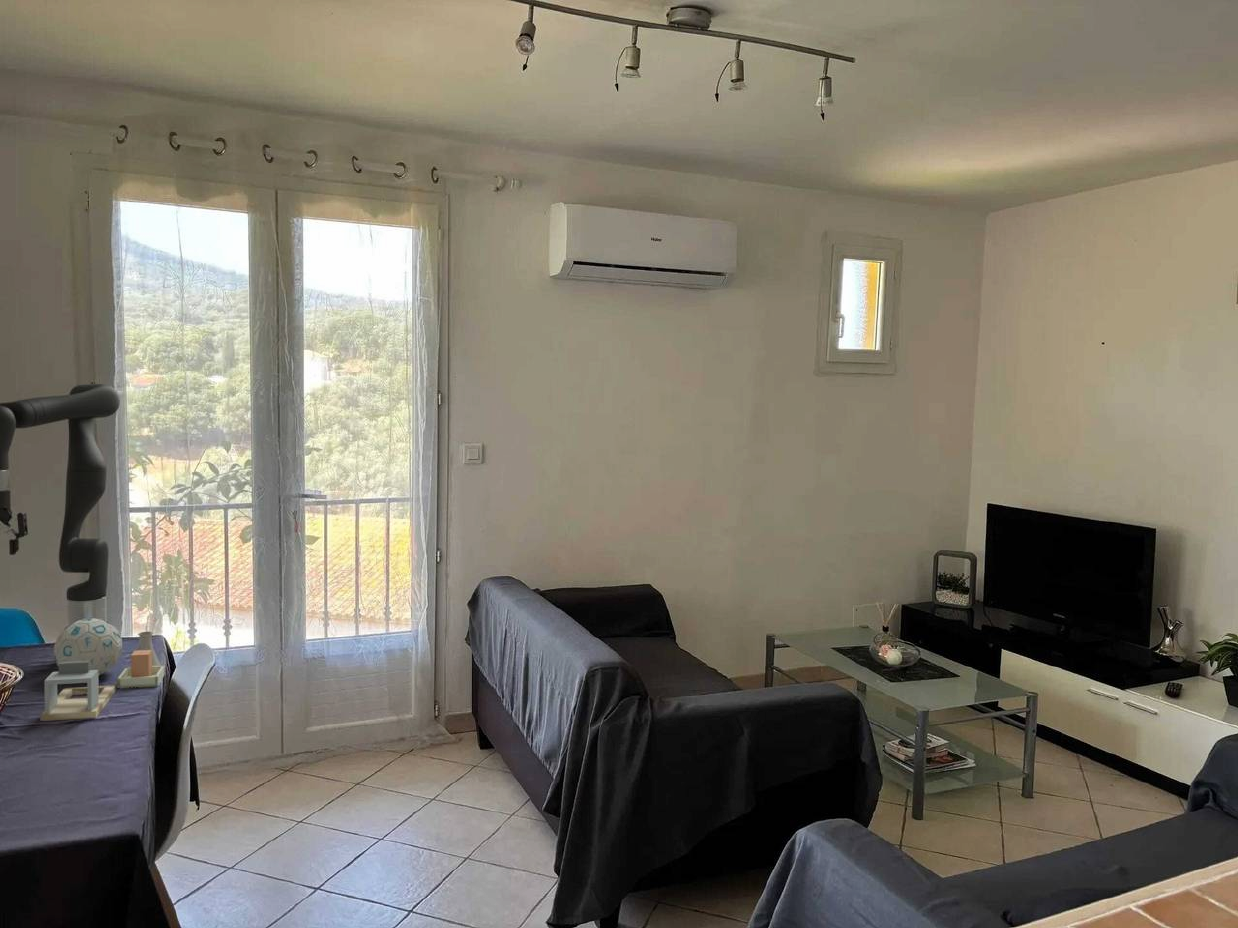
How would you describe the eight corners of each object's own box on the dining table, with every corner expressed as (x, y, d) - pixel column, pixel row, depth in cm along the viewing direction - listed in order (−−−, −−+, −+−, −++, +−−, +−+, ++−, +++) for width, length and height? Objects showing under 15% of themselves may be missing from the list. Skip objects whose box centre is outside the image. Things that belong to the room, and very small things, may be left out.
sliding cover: (53, 703, 201) (52, 661, 200) (98, 700, 204) (98, 659, 203) (44, 713, 195) (44, 669, 194) (91, 710, 198) (91, 667, 197)
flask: (124, 670, 230) (123, 633, 229) (149, 663, 237) (149, 627, 236) (141, 675, 227) (141, 638, 226) (167, 668, 233) (166, 631, 232)
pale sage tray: (125, 676, 225) (125, 667, 225) (164, 674, 228) (164, 665, 228) (117, 688, 217) (117, 678, 217) (157, 686, 220) (157, 676, 219)
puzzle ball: (135, 669, 231) (135, 614, 230) (95, 688, 216) (94, 629, 215) (82, 665, 233) (81, 610, 232) (39, 683, 218) (38, 625, 217)
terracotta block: (134, 677, 224) (134, 650, 223) (152, 676, 225) (151, 649, 224) (131, 682, 220) (130, 655, 219) (148, 681, 221) (148, 654, 220)
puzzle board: (64, 694, 212) (64, 688, 211) (115, 691, 215) (115, 685, 215) (40, 721, 195) (40, 714, 195) (96, 717, 198) (96, 711, 198)
